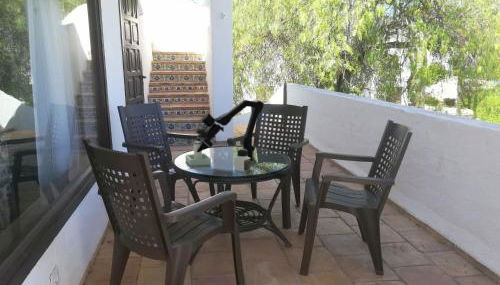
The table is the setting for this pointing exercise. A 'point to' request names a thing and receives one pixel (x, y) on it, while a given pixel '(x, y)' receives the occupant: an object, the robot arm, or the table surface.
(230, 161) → the table surface
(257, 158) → the table surface
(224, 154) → the table surface
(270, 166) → the table surface
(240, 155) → the medicine bottle
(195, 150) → the canister
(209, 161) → the tote
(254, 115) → the robot arm
